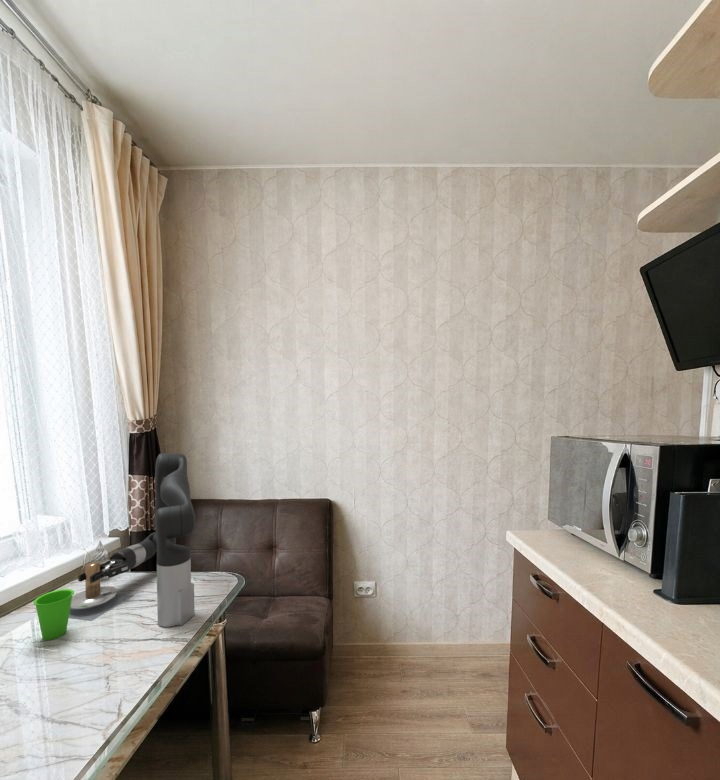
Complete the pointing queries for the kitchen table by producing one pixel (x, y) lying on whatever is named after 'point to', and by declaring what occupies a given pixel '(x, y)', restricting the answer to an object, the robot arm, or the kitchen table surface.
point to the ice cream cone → (100, 554)
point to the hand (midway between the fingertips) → (85, 578)
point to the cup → (54, 612)
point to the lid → (92, 591)
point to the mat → (98, 609)
